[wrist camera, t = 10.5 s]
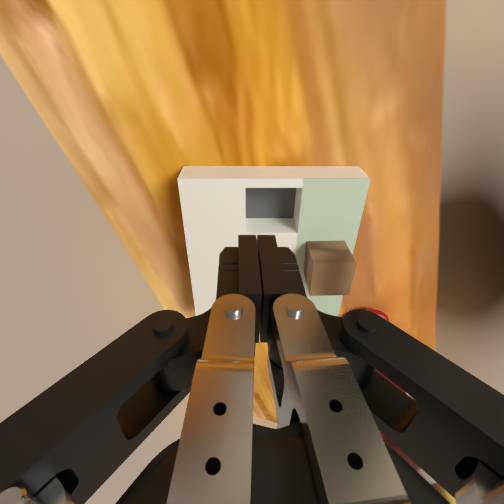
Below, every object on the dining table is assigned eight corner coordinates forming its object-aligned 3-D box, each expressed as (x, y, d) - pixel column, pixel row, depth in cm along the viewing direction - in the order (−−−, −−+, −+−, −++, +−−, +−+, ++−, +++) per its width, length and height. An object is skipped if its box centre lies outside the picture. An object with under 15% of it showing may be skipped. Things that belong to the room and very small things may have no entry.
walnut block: (303, 271, 38) (309, 295, 34) (306, 241, 35) (313, 263, 32) (339, 270, 38) (349, 294, 34) (344, 240, 35) (356, 263, 32)
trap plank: (199, 297, 45) (195, 316, 42) (183, 166, 34) (177, 178, 31) (331, 296, 46) (338, 315, 42) (358, 166, 35) (370, 178, 31)
